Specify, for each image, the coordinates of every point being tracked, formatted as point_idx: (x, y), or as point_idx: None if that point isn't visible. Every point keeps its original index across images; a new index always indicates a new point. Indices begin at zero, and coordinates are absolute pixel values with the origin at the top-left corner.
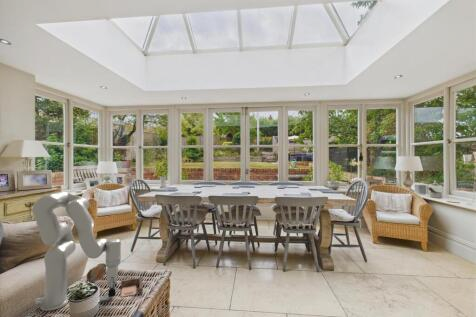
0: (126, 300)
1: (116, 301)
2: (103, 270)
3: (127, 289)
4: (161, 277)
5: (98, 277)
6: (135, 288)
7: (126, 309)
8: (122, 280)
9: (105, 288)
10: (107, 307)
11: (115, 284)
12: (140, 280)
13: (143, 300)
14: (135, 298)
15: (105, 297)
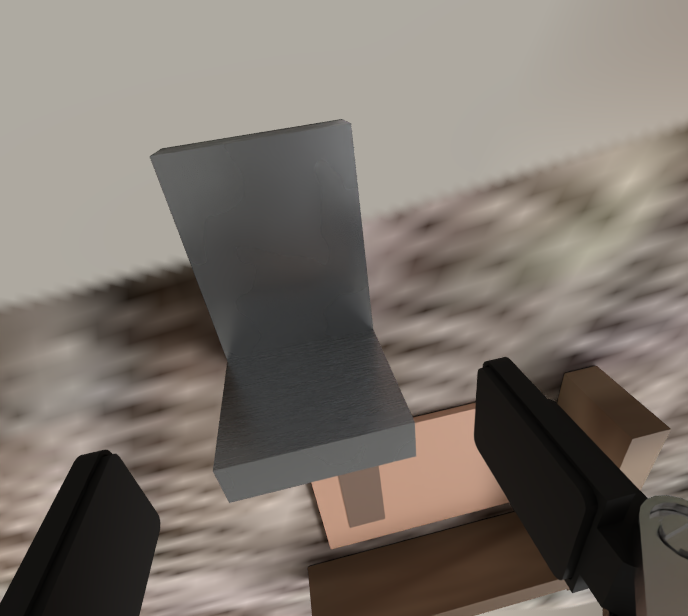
0: (215, 510)
1: (200, 427)
2: None
3: (456, 459)
4: (546, 596)
5: None
6: (443, 516)
7: (18, 563)
8: (651, 442)
9: (664, 150)
10: (24, 370)
11: (501, 474)
12: (515, 597)
13: (202, 612)
14: (247, 559)
15: (278, 282)
